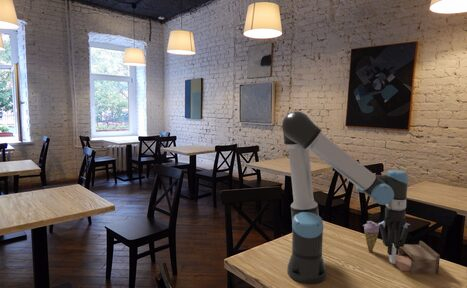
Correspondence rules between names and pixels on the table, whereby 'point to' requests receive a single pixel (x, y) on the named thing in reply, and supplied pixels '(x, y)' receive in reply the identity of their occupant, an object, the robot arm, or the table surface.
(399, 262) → the pinkish brown block
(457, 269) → the table surface
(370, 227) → the ice cream cone
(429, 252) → the brown channel bracket
